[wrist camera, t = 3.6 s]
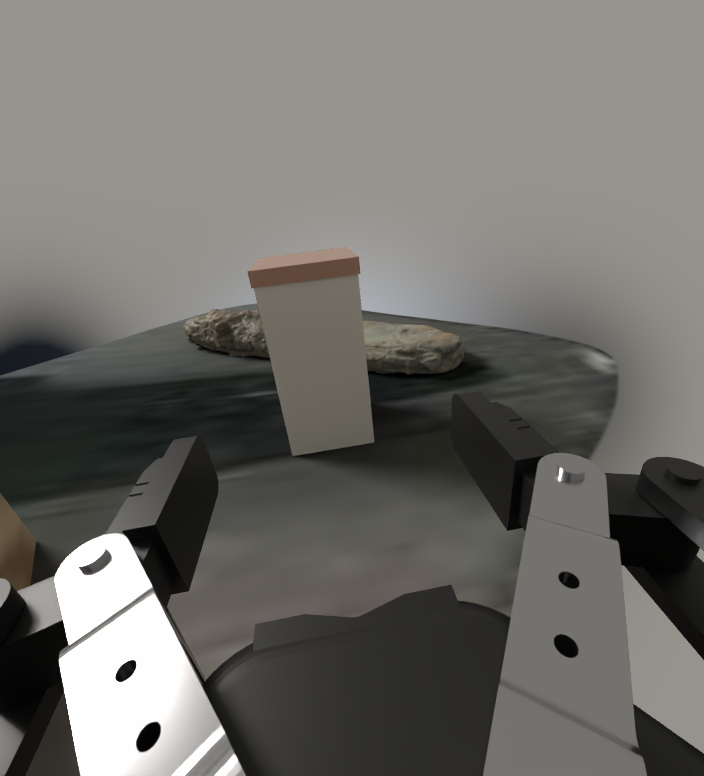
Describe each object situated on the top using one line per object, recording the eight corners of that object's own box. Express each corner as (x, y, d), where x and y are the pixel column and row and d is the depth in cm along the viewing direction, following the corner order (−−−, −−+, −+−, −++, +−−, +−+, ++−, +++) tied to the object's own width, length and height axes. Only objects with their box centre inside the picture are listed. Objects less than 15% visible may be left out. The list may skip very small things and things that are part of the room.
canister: (291, 457, 22) (247, 271, 17) (292, 413, 27) (259, 257, 22) (376, 443, 22) (358, 256, 17) (362, 402, 27) (345, 246, 22)
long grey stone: (443, 411, 28) (472, 366, 36) (448, 347, 26) (478, 314, 33) (162, 348, 44) (224, 327, 51) (150, 305, 41) (217, 290, 49)
